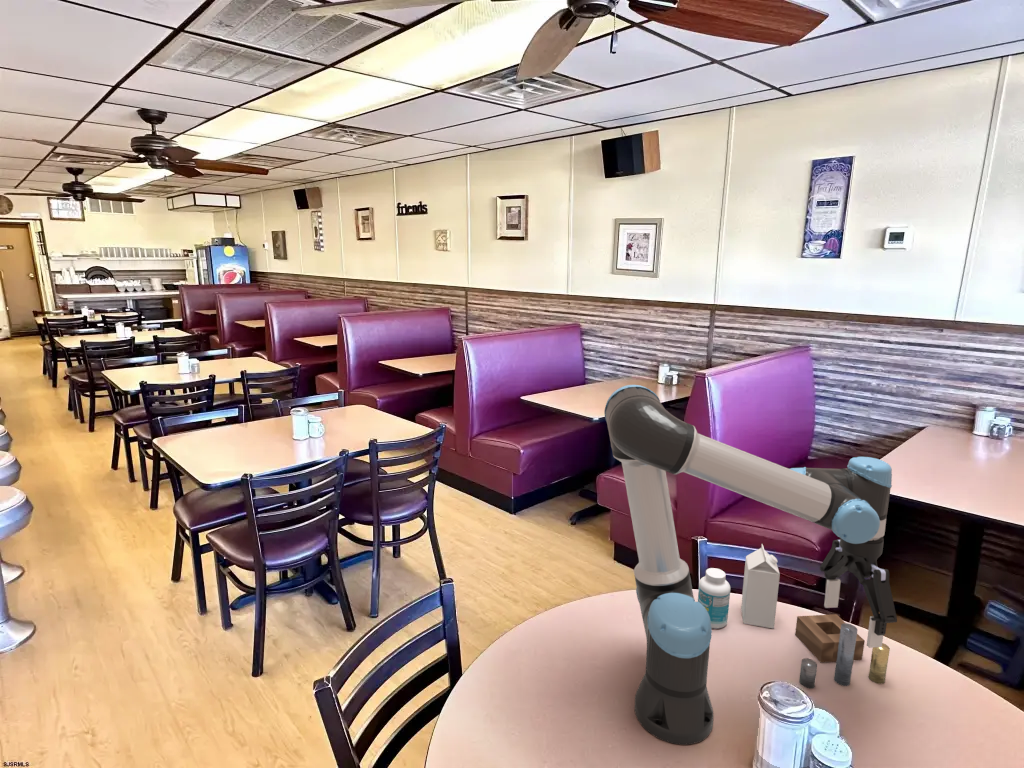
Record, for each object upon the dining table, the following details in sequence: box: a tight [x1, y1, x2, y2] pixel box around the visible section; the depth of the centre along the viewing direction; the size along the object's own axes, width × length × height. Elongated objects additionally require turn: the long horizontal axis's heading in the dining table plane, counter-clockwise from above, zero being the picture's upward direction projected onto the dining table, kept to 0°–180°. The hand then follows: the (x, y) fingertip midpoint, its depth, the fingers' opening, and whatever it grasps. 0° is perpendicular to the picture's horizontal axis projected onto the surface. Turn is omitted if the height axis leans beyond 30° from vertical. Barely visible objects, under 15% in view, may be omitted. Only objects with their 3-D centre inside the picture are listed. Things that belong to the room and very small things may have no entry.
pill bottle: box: [697, 567, 731, 630], centre depth 142 cm, size 8×7×14 cm
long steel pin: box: [833, 622, 858, 687], centre depth 121 cm, size 3×3×13 cm
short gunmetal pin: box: [798, 657, 818, 689], centre depth 121 cm, size 3×3×5 cm
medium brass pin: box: [868, 642, 891, 685], centre depth 123 cm, size 3×3×8 cm
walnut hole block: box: [794, 613, 866, 663], centre depth 133 cm, size 10×10×5 cm
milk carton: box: [740, 543, 781, 629], centre depth 143 cm, size 7×7×19 cm
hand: (851, 625), depth 120 cm, fingers open, 13 cm apart
